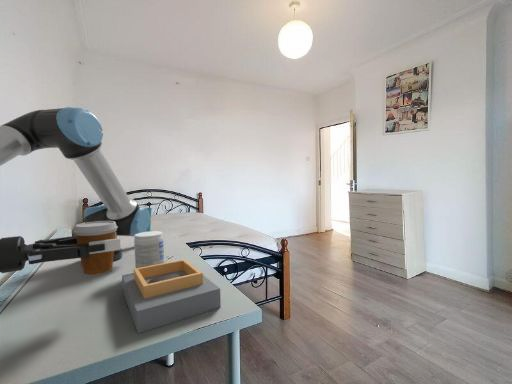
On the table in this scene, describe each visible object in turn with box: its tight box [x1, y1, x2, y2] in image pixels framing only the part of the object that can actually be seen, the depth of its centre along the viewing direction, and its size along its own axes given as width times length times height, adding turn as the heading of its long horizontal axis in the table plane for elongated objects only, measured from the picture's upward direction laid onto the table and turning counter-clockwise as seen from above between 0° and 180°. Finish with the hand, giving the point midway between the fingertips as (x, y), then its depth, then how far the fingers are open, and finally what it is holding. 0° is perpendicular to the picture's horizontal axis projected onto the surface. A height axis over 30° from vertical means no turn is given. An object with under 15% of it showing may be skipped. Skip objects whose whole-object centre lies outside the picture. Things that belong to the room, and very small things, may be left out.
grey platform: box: [121, 258, 222, 334], centre depth 75 cm, size 30×20×8 cm, turn 34°
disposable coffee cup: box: [72, 221, 118, 276], centre depth 66 cm, size 10×10×12 cm
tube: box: [145, 207, 153, 232], centre depth 134 cm, size 7×5×19 cm, turn 103°
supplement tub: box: [133, 230, 165, 269], centre depth 92 cm, size 10×10×15 cm
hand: (118, 240), depth 68 cm, fingers closed on disposable coffee cup, 8 cm apart
